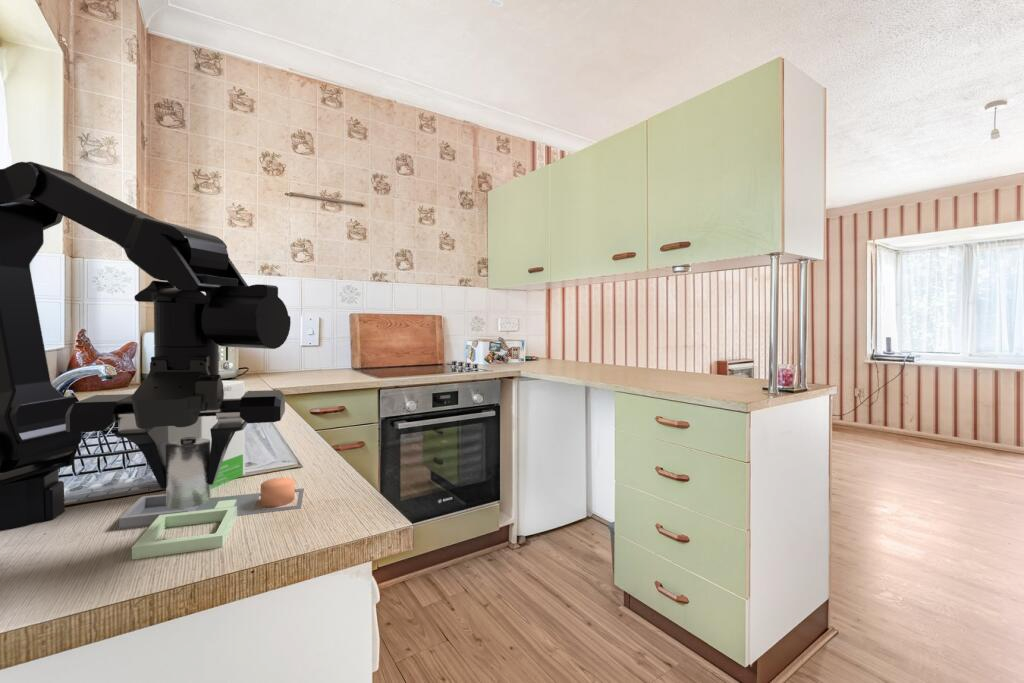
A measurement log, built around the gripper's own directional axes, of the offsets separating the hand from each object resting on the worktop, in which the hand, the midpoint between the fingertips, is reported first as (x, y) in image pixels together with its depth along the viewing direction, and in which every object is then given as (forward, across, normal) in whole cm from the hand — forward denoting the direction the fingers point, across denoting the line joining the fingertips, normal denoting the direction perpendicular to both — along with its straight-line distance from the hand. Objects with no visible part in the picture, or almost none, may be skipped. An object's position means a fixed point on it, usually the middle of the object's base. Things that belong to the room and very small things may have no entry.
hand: (188, 485), depth 50 cm
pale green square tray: (+7, 0, 0) cm, 7 cm away
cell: (+2, 0, 0) cm, 2 cm away
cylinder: (+6, +8, +7) cm, 12 cm away
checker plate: (+7, +1, +7) cm, 10 cm away
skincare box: (+7, -2, +18) cm, 20 cm away
